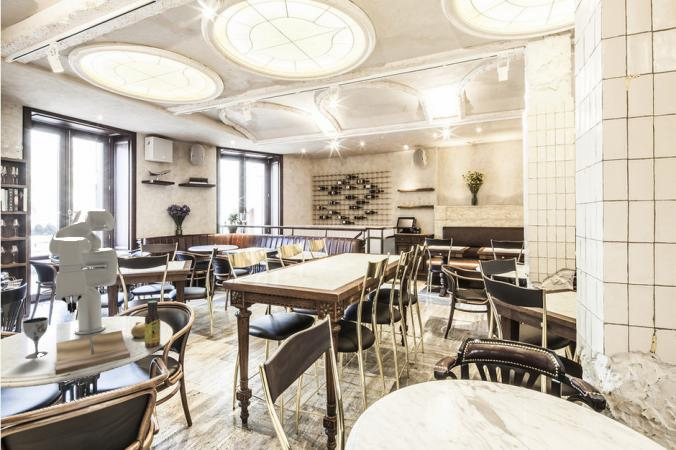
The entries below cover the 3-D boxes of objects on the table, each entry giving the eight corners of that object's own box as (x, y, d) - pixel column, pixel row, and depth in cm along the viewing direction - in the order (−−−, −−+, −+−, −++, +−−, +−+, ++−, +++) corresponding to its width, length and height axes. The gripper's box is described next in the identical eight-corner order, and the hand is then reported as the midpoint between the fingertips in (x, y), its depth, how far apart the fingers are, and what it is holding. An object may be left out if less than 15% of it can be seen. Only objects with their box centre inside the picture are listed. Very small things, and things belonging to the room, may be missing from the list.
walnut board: (55, 365, 134) (55, 362, 134) (126, 349, 149) (126, 346, 149) (55, 373, 127) (55, 370, 127) (130, 356, 142) (130, 352, 142)
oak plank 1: (56, 345, 141) (56, 343, 141) (89, 338, 148) (89, 336, 148) (57, 364, 135) (57, 361, 134) (91, 356, 142) (91, 354, 141)
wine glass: (53, 352, 146) (52, 318, 145) (31, 360, 139) (30, 324, 138) (41, 350, 149) (40, 316, 148) (19, 357, 141) (17, 322, 141)
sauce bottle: (153, 348, 150) (152, 304, 149) (141, 347, 152) (140, 303, 151) (164, 342, 157) (163, 300, 156) (152, 341, 158) (151, 299, 157)
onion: (150, 332, 170) (150, 318, 170) (149, 337, 163) (149, 323, 163) (132, 335, 167) (131, 320, 167) (130, 340, 160) (129, 325, 159)
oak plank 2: (92, 338, 149) (92, 336, 148) (121, 332, 156) (121, 330, 155) (94, 355, 142) (94, 353, 142) (124, 348, 150) (125, 346, 149)
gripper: (91, 265, 150) (93, 307, 150) (47, 269, 140) (48, 313, 141) (93, 267, 144) (94, 310, 145) (47, 271, 134) (48, 317, 135)
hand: (72, 312), depth 143 cm, fingers closed
